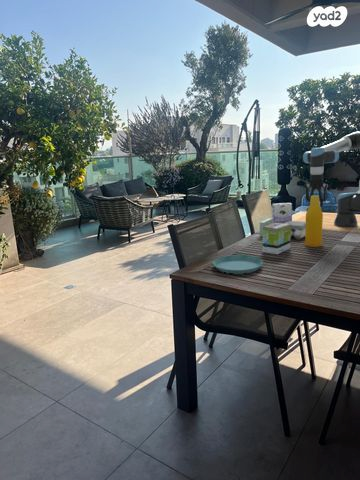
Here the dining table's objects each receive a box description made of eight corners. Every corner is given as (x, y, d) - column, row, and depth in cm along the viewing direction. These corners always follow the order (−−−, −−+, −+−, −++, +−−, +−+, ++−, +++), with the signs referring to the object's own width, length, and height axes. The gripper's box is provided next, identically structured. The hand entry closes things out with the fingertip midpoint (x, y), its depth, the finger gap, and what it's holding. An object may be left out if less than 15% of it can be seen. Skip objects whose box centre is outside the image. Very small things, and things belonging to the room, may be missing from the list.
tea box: (278, 254, 189) (278, 228, 185) (262, 252, 195) (262, 226, 192) (290, 248, 199) (291, 223, 196) (274, 246, 206) (275, 221, 202)
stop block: (272, 231, 244) (273, 218, 241) (264, 236, 231) (264, 222, 229) (268, 231, 245) (268, 218, 243) (259, 236, 233) (259, 222, 231)
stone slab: (308, 225, 227) (308, 221, 227) (301, 229, 216) (302, 225, 216) (290, 224, 234) (290, 220, 234) (283, 228, 223) (283, 224, 223)
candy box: (290, 223, 267) (290, 202, 263) (292, 225, 261) (292, 203, 257) (272, 224, 268) (272, 203, 264) (273, 225, 263) (273, 204, 259)
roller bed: (310, 234, 229) (310, 225, 228) (302, 240, 216) (303, 230, 215) (290, 233, 236) (290, 224, 235) (282, 238, 224) (282, 229, 223)
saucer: (211, 261, 184) (211, 255, 183) (257, 259, 183) (257, 253, 182) (215, 277, 160) (215, 270, 160) (267, 275, 160) (267, 268, 159)
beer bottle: (324, 244, 204) (326, 195, 197) (317, 247, 197) (319, 197, 190) (308, 242, 210) (310, 194, 203) (302, 245, 203) (303, 196, 197)
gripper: (333, 173, 208) (331, 211, 214) (304, 173, 218) (303, 210, 224) (330, 174, 203) (328, 213, 208) (300, 174, 213) (299, 212, 218)
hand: (315, 211), depth 216 cm, fingers open, 4 cm apart
